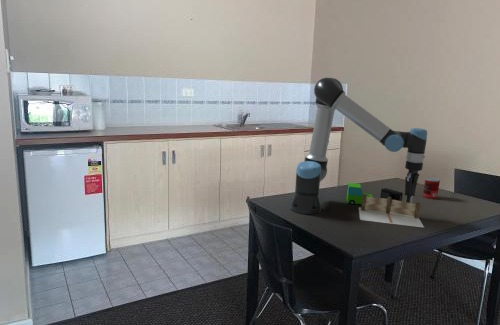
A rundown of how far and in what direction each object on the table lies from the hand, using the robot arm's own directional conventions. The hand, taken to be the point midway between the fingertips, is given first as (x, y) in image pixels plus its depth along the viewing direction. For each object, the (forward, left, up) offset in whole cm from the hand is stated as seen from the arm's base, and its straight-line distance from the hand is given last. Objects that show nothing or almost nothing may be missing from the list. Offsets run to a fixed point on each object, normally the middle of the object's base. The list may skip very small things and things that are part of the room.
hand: (407, 208), depth 190 cm
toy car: (-22, +13, -5) cm, 26 cm away
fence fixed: (-15, +1, -4) cm, 15 cm away
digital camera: (-5, +21, -5) cm, 22 cm away
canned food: (+19, +42, -5) cm, 46 cm away
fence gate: (-1, -1, -3) cm, 4 cm away
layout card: (-9, -5, -4) cm, 11 cm away
